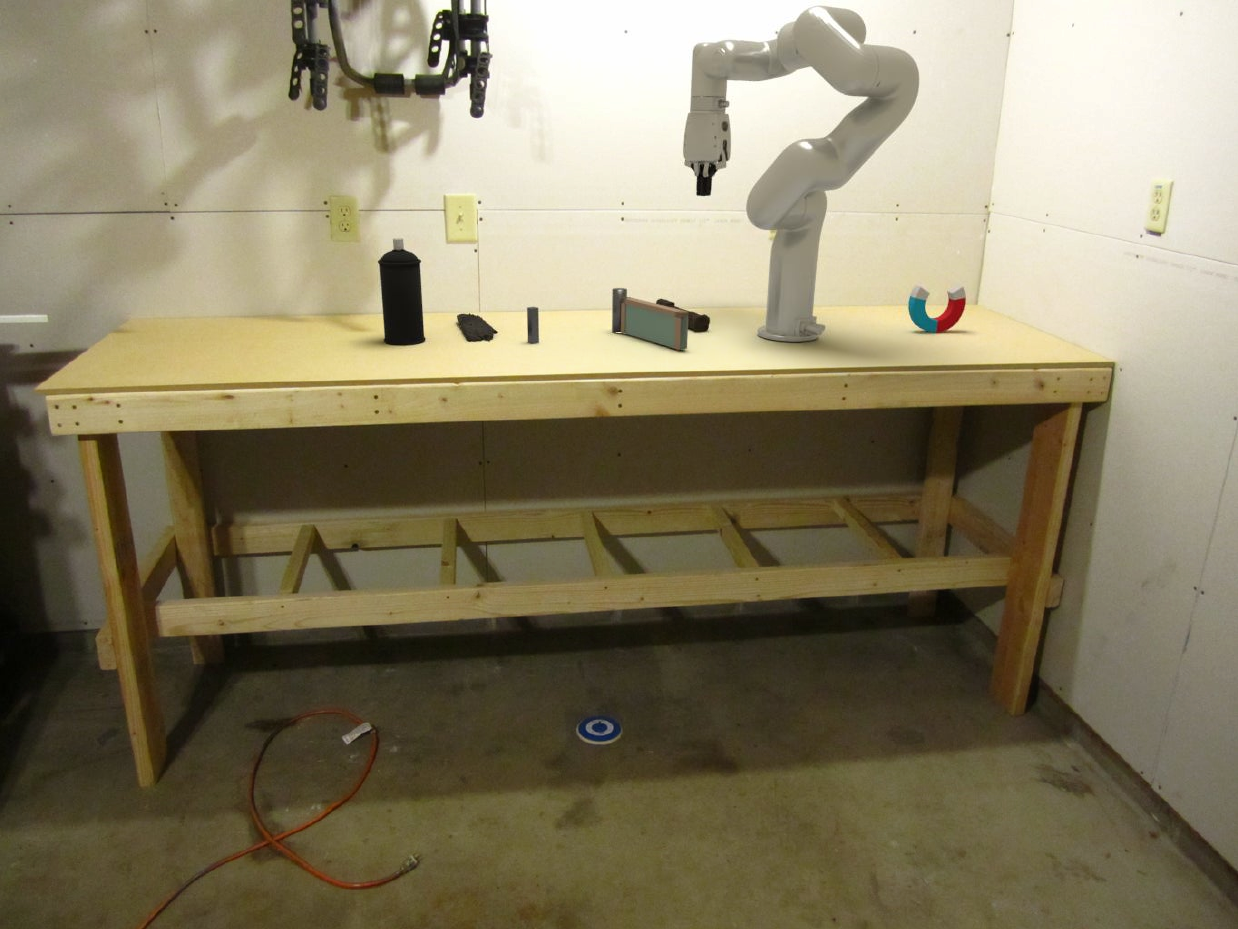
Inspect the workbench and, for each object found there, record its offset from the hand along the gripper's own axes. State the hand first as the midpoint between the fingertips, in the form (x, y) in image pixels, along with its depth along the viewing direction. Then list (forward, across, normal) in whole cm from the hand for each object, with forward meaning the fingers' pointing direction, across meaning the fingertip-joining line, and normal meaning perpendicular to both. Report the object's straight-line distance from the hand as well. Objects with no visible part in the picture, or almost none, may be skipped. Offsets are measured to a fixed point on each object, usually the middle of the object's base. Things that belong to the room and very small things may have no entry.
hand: (703, 195), depth 206 cm
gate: (+26, -11, +28) cm, 40 cm away
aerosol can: (+27, +25, +63) cm, 73 cm away
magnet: (+26, -46, -24) cm, 58 cm away
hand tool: (+27, -3, +11) cm, 29 cm away
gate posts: (+27, +3, +35) cm, 44 cm away
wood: (+28, +22, +46) cm, 58 cm away
